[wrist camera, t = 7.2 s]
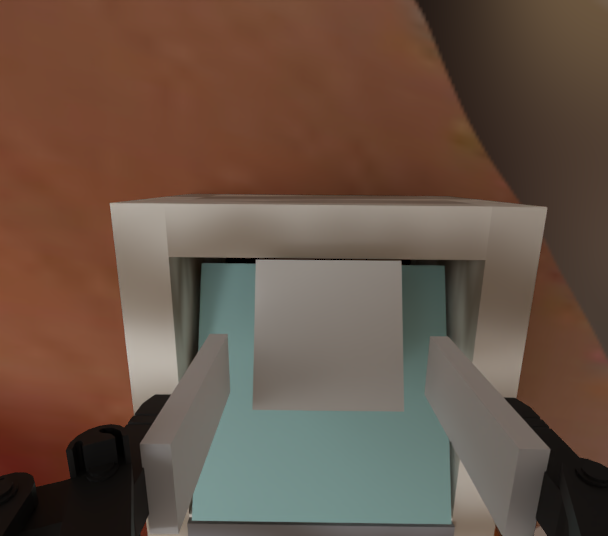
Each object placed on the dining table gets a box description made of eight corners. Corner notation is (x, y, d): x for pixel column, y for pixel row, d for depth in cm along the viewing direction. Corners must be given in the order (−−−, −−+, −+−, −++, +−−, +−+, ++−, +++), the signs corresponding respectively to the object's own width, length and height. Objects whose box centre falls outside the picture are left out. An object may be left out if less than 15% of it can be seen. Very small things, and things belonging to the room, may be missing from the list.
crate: (191, 193, 28) (105, 203, 16) (447, 196, 28) (553, 207, 16) (205, 418, 33) (146, 555, 21) (425, 421, 33) (494, 560, 21)
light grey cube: (270, 272, 21) (255, 259, 15) (374, 273, 21) (401, 260, 15) (267, 378, 20) (252, 409, 14) (375, 380, 20) (404, 411, 14)
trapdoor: (206, 264, 22) (201, 262, 21) (438, 267, 22) (444, 265, 21) (197, 509, 21) (191, 520, 20) (444, 513, 21) (451, 524, 20)
